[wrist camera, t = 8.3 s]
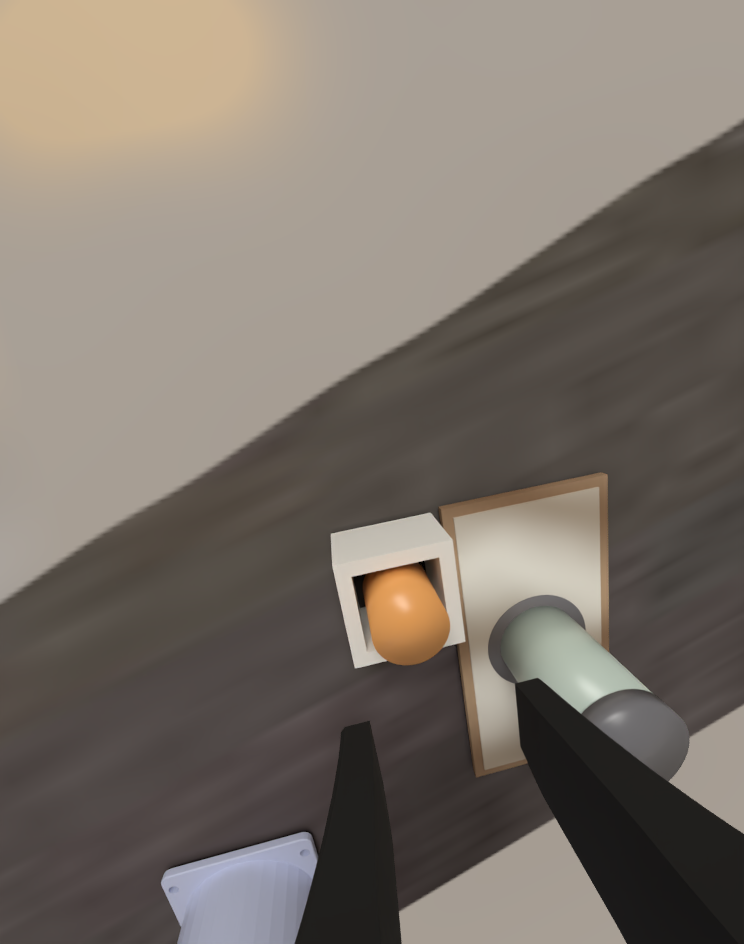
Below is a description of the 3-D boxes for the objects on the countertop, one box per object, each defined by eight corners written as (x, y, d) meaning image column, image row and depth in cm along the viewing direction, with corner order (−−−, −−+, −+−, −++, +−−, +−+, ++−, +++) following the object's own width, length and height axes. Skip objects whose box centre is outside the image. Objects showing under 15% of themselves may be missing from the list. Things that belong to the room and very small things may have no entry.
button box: (442, 599, 18) (465, 641, 15) (349, 621, 18) (355, 668, 15) (430, 512, 17) (452, 539, 14) (330, 533, 16) (332, 566, 14)
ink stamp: (577, 664, 19) (686, 784, 14) (502, 684, 19) (582, 816, 13) (575, 596, 18) (692, 694, 12) (496, 615, 18) (579, 725, 12)
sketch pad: (604, 734, 22) (611, 743, 21) (473, 770, 21) (477, 780, 20) (601, 472, 17) (610, 475, 17) (438, 506, 17) (442, 510, 16)
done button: (431, 606, 16) (454, 654, 13) (368, 620, 16) (379, 673, 13) (422, 549, 16) (445, 587, 13) (357, 563, 15) (365, 605, 12)
